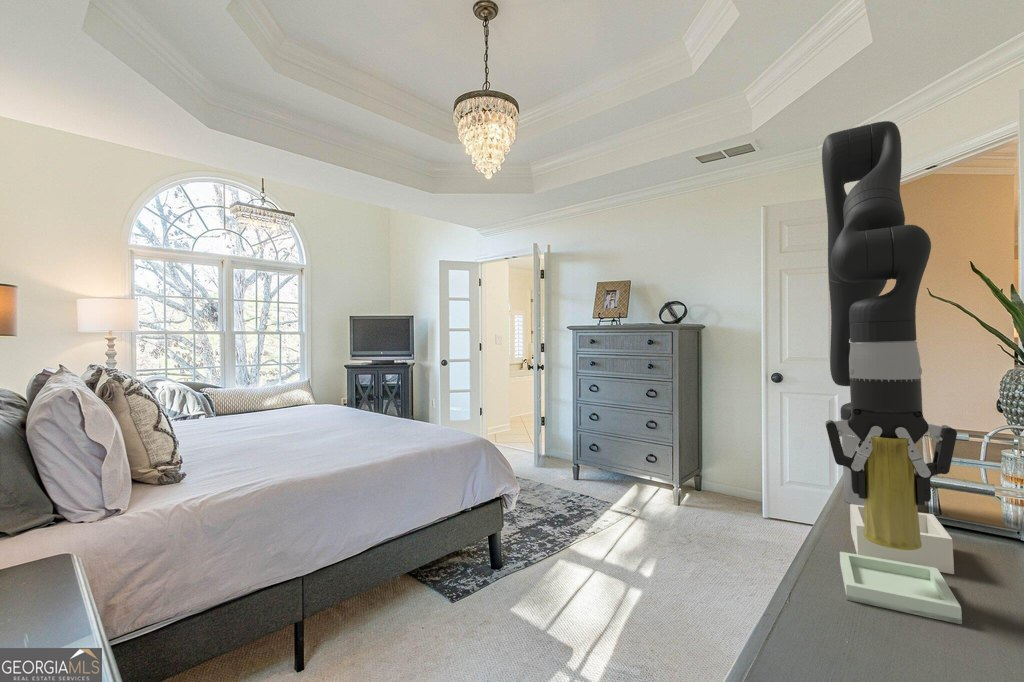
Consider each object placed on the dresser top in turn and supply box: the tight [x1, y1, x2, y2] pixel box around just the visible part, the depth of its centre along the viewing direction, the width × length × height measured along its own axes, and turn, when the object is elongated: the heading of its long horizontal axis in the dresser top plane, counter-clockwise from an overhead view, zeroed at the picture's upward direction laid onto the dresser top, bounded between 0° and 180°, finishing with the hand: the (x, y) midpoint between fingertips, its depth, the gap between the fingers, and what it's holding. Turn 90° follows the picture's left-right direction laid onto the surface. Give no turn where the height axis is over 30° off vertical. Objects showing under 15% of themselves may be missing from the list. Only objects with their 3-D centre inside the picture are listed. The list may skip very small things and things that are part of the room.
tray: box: [839, 551, 963, 625], centre depth 61 cm, size 11×11×2 cm
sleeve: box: [849, 503, 955, 575], centre depth 73 cm, size 11×11×5 cm
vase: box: [863, 437, 922, 550], centre depth 62 cm, size 6×6×14 cm
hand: (889, 499), depth 62 cm, fingers closed on vase, 5 cm apart
